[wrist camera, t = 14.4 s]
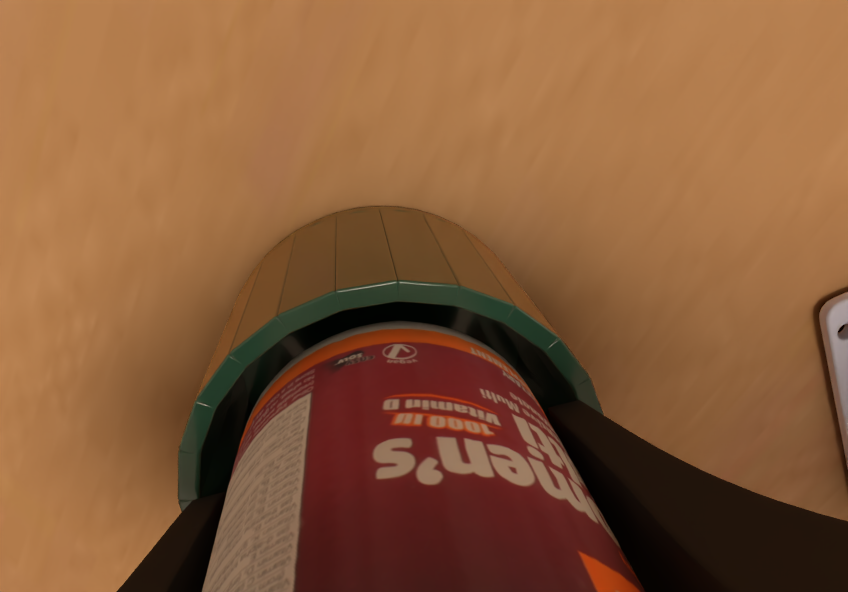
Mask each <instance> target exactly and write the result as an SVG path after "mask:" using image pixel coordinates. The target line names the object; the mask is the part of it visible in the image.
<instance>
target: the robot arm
mask: <svg viewBox="0 0 848 592" xmlns="http://www.w3.org/2000/svg"><path fill="white" fill-rule="evenodd" d="M819 321H820V326H821V332H822V337H823V342H824V347H825V353H826V358H827V363H828V368H829V374H830V379H831V384H832V389H833V394H834V400H835V405H836V410H837V415H838V421H839V426H840V431H841V436H842V442H843V447H844V452H845V457H846V463H847V468H848V292H846V293H844V294H841V295H839V296H836V297H834V298H832V299H830V300H829V301H827V302H826V303H825V304H824V305H823V307H822V308H821V311H820V313H819ZM844 324H845V327H844V329H843V330H842V331H841V332H840V333H838V330H839V329H840V327H841V326H842V325H844ZM548 410H549V415H550V421H551V426H552V427H553V429H554V431H555V432H556V434H557V435H558V437H559V438H560V440H561V442H562V444H563V446H564V448H565V449H566V451H567V453H568V455H569V457H570V459H571V460H572V462H573V463H574V465H575V467H576V468H577V470H578V472H579V474H580V475H581V477H582V479H583V481H584V483H585V485H586V487H587V488H588V490H589V492H590V494H591V496H592V497H593V499H594V501H595V503H596V505H597V506H598V508H599V510H600V511H601V513H602V514H603V516H604V518H605V520H606V522H607V524H608V526H609V527H610V529H611V531H612V532H613V534H614V536H615V538H616V539H617V541H618V543H619V545H620V547H621V549H622V551H623V553H624V555H625V557H626V558H627V560H628V562H629V563H630V565H631V567H632V568H633V571H634V573H635V575H636V576H637V578H638V580H639V582H640V583H641V585H642V587H643V589H644V590H645V592H848V521H844V520H840V519H837V518H833V517H829V516H826V515H822V514H818V513H815V512H812V511H809V510H806V509H802V508H799V507H796V506H793V505H790V504H787V503H783V502H780V501H777V500H774V499H771V498H769V497H766V496H763V495H760V494H757V493H755V492H752V491H750V490H747V489H745V488H742V487H740V486H737V485H735V484H732V483H730V482H727V481H725V480H722V479H720V478H718V477H716V476H713V475H711V474H709V473H707V472H704V471H702V470H700V469H698V468H696V467H694V466H692V465H690V464H688V463H686V462H684V461H682V460H680V459H678V458H676V457H674V456H672V455H670V454H668V453H666V452H665V451H663V450H661V449H659V448H657V447H655V446H654V445H652V444H650V443H648V442H647V441H645V440H643V439H642V438H640V437H638V436H636V435H635V434H633V433H631V432H630V431H628V430H627V429H625V428H623V427H622V426H620V425H619V424H617V423H615V422H614V421H612V420H611V419H609V418H607V417H606V416H604V415H603V414H601V413H600V412H598V411H596V410H595V409H593V408H592V407H590V406H588V405H587V404H585V403H584V402H582V401H580V400H576V401H572V402H569V403H565V404H561V405H557V406H553V407H549V408H548ZM225 498H226V494H225V492H222V493H218V494H214V495H211V496H207V497H203V498H199V499H195V500H192V501H191V503H190V504H189V505H188V506H187V507H186V508H185V509H184V510H183V512H182V513H181V514H180V515H179V516H178V518H177V519H176V520H175V521H174V522H173V524H172V525H171V526H170V527H169V529H168V530H167V531H166V532H165V534H164V535H163V536H162V537H161V539H160V540H159V541H158V542H157V544H156V545H155V546H154V547H153V549H152V550H151V551H150V552H149V553H148V555H147V556H146V557H145V558H144V560H143V561H142V562H141V563H140V564H139V566H138V567H137V568H136V569H135V571H134V572H133V573H132V574H131V575H130V577H129V578H128V579H127V580H126V581H125V583H124V584H123V585H122V586H121V587H120V588H119V589H118V591H117V592H202V589H203V585H204V581H205V577H206V573H207V569H208V565H209V561H210V558H211V554H212V550H213V546H214V542H215V538H216V534H217V530H218V526H219V522H220V518H221V514H222V510H223V506H224V502H225Z"/></svg>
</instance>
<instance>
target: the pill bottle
mask: <svg viewBox="0 0 848 592" xmlns="http://www.w3.org/2000/svg"><path fill="white" fill-rule="evenodd" d="M202 592H645V590H644V589H643V587H642V585H641V583H640V582H639V580H638V578H637V576H636V575H635V573H634V571H633V568H632V567H631V565H630V563H629V562H628V560H627V558H626V557H625V555H624V553H623V551H622V549H621V547H620V545H619V543H618V541H617V539H616V538H615V536H614V534H613V532H612V531H611V529H610V527H609V526H608V524H607V522H606V520H605V518H604V516H603V514H602V513H601V511H600V510H599V508H598V506H597V505H596V503H595V501H594V499H593V497H592V496H591V494H590V492H589V490H588V488H587V487H586V485H585V483H584V481H583V479H582V477H581V475H580V474H579V472H578V470H577V468H576V467H575V465H574V463H573V462H572V460H571V459H570V457H569V455H568V453H567V451H566V449H565V448H564V446H563V444H562V442H561V440H560V438H559V437H558V435H557V434H556V432H555V431H554V429H553V427H552V426H551V424H550V423H549V421H548V419H547V417H546V415H545V414H544V412H543V410H542V408H541V406H540V405H539V403H538V402H537V400H536V398H535V397H534V395H533V394H532V392H531V390H530V389H529V387H528V386H527V384H526V383H525V381H524V380H523V379H522V377H521V376H520V375H519V374H518V372H517V371H516V370H515V369H514V368H513V367H512V366H511V365H510V364H509V363H508V362H507V361H506V360H505V359H504V358H503V357H502V356H500V355H499V354H498V353H497V352H496V351H494V350H493V349H491V348H490V347H488V346H487V345H485V344H484V343H482V342H480V341H478V340H476V339H475V338H473V337H471V336H468V335H466V334H463V333H461V332H458V331H455V330H453V329H449V328H446V327H442V326H438V325H434V324H428V323H421V322H410V321H390V322H380V323H375V324H370V325H364V326H360V327H356V328H352V329H349V330H347V331H344V332H341V333H338V334H336V335H333V336H331V337H329V338H327V339H325V340H323V341H321V342H319V343H317V344H315V345H314V346H312V347H310V348H308V349H306V350H305V351H303V352H302V353H301V354H299V355H298V356H296V357H295V358H294V359H292V360H291V361H290V362H289V363H288V364H287V365H286V366H285V367H284V368H283V369H282V370H281V371H280V372H279V373H278V374H277V375H276V376H275V377H274V378H273V380H272V381H271V382H270V383H269V385H268V386H267V387H266V388H265V390H264V391H263V392H262V393H261V395H260V397H259V399H258V401H257V402H256V404H255V406H254V408H253V409H252V412H251V414H250V416H249V419H248V421H247V424H246V427H245V430H244V433H243V436H242V438H241V441H240V445H239V449H238V453H237V456H236V459H235V463H234V467H233V471H232V475H231V479H230V483H229V485H228V489H227V493H226V498H225V502H224V506H223V510H222V514H221V518H220V522H219V526H218V530H217V534H216V538H215V542H214V546H213V550H212V554H211V558H210V561H209V565H208V569H207V573H206V577H205V581H204V585H203V589H202Z"/></svg>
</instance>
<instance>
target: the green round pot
mask: <svg viewBox="0 0 848 592" xmlns="http://www.w3.org/2000/svg"><path fill="white" fill-rule="evenodd" d="M390 321H410V322H421V323H428V324H434V325H438V326H442V327H446V328H449V329H453V330H455V331H458V332H461V333H463V334H466V335H468V336H471V337H473V338H475V339H476V340H478V341H480V342H482V343H484V344H485V345H487V346H488V347H490V348H491V349H493V350H494V351H496V352H497V353H498V354H499V355H500V356H502V357H503V358H504V359H505V360H506V361H507V362H508V363H509V364H510V365H511V366H512V367H513V368H514V369H515V370H516V371H517V372H518V374H519V375H520V376H521V377H522V379H523V380H524V381H525V383H526V384H527V386H528V387H529V389H530V390H531V392H532V394H533V395H534V397H535V398H536V400H537V402H538V403H539V405H540V406H541V408H542V410H543V412H544V414H545V415H546V417H547V419H548V421H549V423H550V424H551V421H550V415H549V410H548V408H549V407H553V406H557V405H561V404H565V403H569V402H572V401H576V400H580V401H582V402H584V403H585V404H587V405H588V406H590V407H592V408H593V409H595V410H596V411H598V412H600V413H601V414H603V411H602V409H601V406H600V403H599V400H598V397H597V395H596V392H595V389H594V386H593V383H592V381H591V378H590V377H589V374H588V373H587V372H586V370H585V369H584V368H583V366H582V365H581V364H580V363H579V361H578V360H577V359H576V357H575V356H574V355H573V353H572V352H571V351H570V349H569V348H568V347H567V346H566V344H565V343H564V342H563V340H562V339H561V338H560V336H559V335H558V334H557V333H556V331H555V330H554V329H553V327H552V326H551V325H550V324H549V322H548V321H547V320H546V318H545V317H544V316H543V315H542V313H541V312H540V311H539V310H538V308H537V307H536V306H535V304H534V303H533V302H532V301H531V299H530V298H529V297H528V295H527V294H526V293H525V292H524V290H523V289H522V288H521V286H520V285H519V284H518V283H517V281H516V280H515V279H514V278H513V276H512V275H511V274H510V272H509V271H508V270H507V269H506V267H505V266H504V265H503V263H502V262H501V261H500V260H499V258H498V257H497V256H496V254H495V253H493V251H491V250H490V249H489V248H488V247H487V246H486V245H485V244H484V243H482V242H481V241H480V240H479V239H478V238H477V237H475V236H474V235H473V234H471V233H469V232H468V231H466V230H465V229H463V228H462V227H460V226H459V225H457V224H455V223H452V222H450V221H448V220H446V219H444V218H442V217H439V216H436V215H433V214H430V213H426V212H423V211H420V210H414V209H408V208H402V207H387V206H375V207H364V208H355V209H351V210H346V211H342V212H337V213H334V214H332V215H329V216H326V217H323V218H321V219H318V220H316V221H314V222H312V223H310V224H308V225H306V226H304V227H302V228H300V229H298V230H297V231H295V232H294V233H292V234H291V235H290V236H288V237H287V238H285V239H284V240H282V241H281V242H280V243H279V244H278V245H277V246H276V247H274V248H273V249H272V250H271V251H270V252H269V253H268V254H267V255H266V256H265V257H264V258H263V260H262V261H261V262H260V263H259V264H258V266H257V267H256V268H255V269H254V271H253V272H252V274H251V275H250V277H249V279H248V280H247V282H246V284H245V285H244V287H243V289H242V290H241V292H240V293H239V295H238V297H237V300H236V302H235V305H234V307H233V309H232V312H231V314H230V317H229V319H228V321H227V324H226V326H225V329H224V331H223V333H222V336H221V338H220V341H219V343H218V346H217V348H216V350H215V353H214V355H213V358H212V360H211V362H210V365H209V367H208V370H207V372H206V374H205V377H204V379H203V382H202V384H201V386H200V389H199V391H198V394H197V396H196V398H195V401H194V404H193V407H192V410H191V413H190V416H189V418H188V421H187V424H186V427H185V430H184V433H183V436H182V439H181V442H180V445H179V451H178V500H179V501H178V502H179V505H180V508H181V511H182V512H183V510H184V509H185V508H186V507H187V506H188V505H189V504H190V503H191V501H192V500H195V499H199V498H203V497H207V496H211V495H214V494H218V493H222V492H225V494H226V493H227V489H228V485H229V483H230V479H231V475H232V471H233V467H234V463H235V459H236V456H237V453H238V449H239V445H240V441H241V438H242V436H243V433H244V430H245V427H246V424H247V421H248V419H249V416H250V414H251V412H252V409H253V408H254V406H255V404H256V402H257V401H258V399H259V397H260V395H261V393H262V392H263V391H264V390H265V388H266V387H267V386H268V385H269V383H270V382H271V381H272V380H273V378H274V377H275V376H276V375H277V374H278V373H279V372H280V371H281V370H282V369H283V368H284V367H285V366H286V365H287V364H288V363H289V362H290V361H291V360H292V359H294V358H295V357H296V356H298V355H299V354H301V353H302V352H303V351H305V350H306V349H308V348H310V347H312V346H314V345H315V344H317V343H319V342H321V341H323V340H325V339H327V338H329V337H331V336H333V335H336V334H338V333H341V332H344V331H347V330H349V329H352V328H356V327H360V326H364V325H370V324H375V323H380V322H390ZM603 415H604V414H603Z"/></svg>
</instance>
